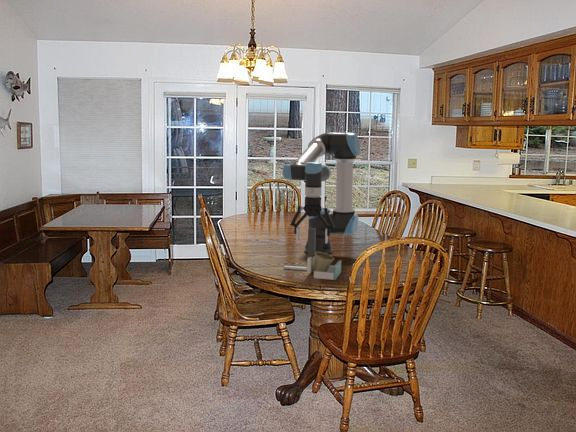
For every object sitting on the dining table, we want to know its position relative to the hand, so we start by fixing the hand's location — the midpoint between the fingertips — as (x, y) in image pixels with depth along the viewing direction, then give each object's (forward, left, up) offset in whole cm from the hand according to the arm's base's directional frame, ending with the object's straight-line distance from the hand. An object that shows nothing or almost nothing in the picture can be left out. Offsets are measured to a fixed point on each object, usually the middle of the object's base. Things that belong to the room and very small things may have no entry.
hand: (311, 242), depth 282 cm
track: (-7, -6, -15) cm, 18 cm away
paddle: (-2, 0, -14) cm, 14 cm away
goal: (0, +7, -15) cm, 17 cm away
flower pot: (0, +4, -14) cm, 15 cm away
